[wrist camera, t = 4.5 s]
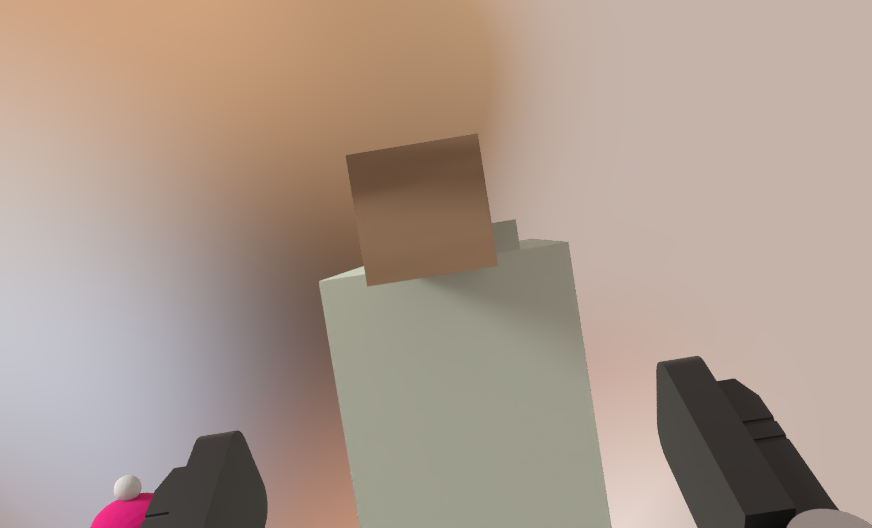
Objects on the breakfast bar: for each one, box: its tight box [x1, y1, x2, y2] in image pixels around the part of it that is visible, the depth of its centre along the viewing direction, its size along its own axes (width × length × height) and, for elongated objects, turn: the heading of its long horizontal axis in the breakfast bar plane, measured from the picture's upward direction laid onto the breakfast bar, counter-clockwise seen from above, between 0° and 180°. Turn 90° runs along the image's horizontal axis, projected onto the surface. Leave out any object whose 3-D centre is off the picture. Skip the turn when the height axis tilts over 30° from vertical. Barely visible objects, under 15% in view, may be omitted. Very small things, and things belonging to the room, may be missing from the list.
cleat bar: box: [346, 134, 498, 287], centre depth 29 cm, size 23×4×4 cm, turn 178°
